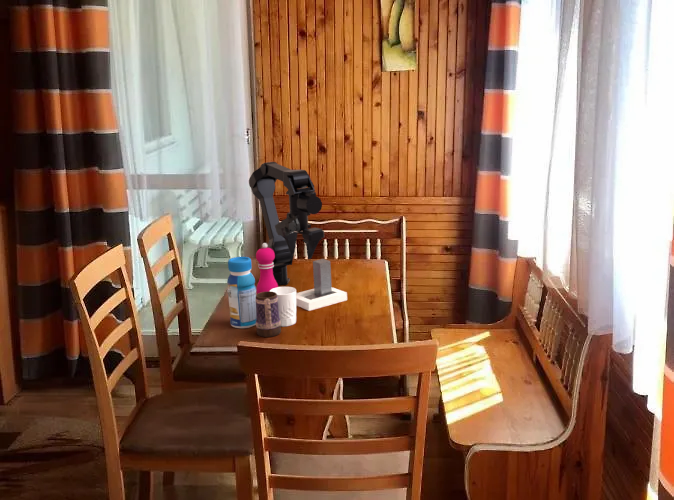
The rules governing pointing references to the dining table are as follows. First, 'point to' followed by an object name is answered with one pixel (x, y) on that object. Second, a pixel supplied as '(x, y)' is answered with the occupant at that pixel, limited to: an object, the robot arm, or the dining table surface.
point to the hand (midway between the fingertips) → (301, 256)
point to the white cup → (286, 304)
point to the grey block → (321, 279)
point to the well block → (319, 299)
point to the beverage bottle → (241, 293)
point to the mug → (267, 314)
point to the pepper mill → (265, 269)
